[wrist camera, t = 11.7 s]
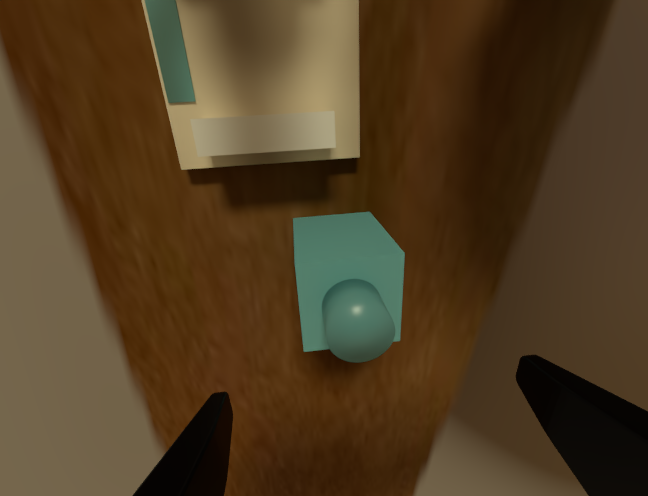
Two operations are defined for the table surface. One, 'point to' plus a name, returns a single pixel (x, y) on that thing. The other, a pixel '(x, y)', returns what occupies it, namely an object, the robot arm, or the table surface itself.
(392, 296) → the teal plug
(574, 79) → the table surface
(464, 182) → the table surface
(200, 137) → the backplate with mounted blocks
